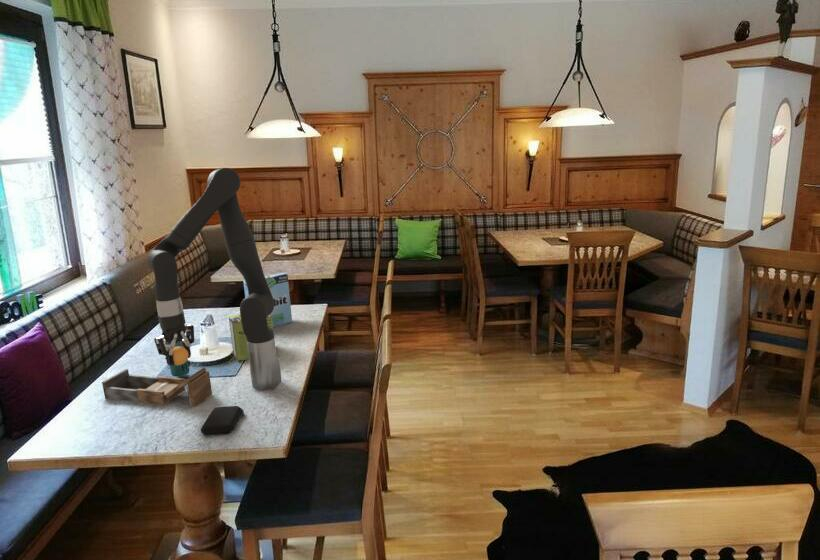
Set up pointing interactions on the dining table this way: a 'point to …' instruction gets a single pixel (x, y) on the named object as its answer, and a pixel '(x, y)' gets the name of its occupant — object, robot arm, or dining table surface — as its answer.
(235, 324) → the protein box
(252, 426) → the dining table surface
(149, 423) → the dining table surface
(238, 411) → the carrying case or bag
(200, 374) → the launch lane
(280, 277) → the gum box
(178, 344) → the beverage bottle
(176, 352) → the ball
